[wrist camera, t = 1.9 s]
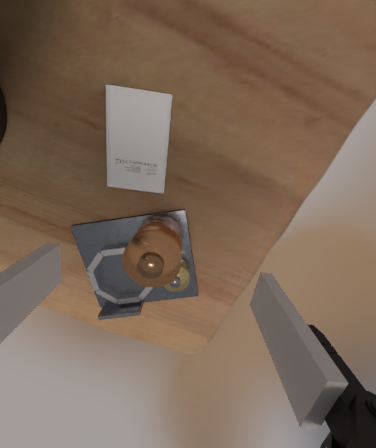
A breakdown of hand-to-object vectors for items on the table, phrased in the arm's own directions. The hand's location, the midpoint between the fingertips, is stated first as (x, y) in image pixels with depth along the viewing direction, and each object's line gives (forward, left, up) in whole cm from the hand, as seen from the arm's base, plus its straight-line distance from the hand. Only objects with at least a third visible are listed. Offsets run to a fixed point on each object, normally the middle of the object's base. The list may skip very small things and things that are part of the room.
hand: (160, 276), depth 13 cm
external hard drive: (-4, +10, -19) cm, 21 cm away
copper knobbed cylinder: (-3, -4, -17) cm, 18 cm away
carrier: (-8, -8, -18) cm, 21 cm away
